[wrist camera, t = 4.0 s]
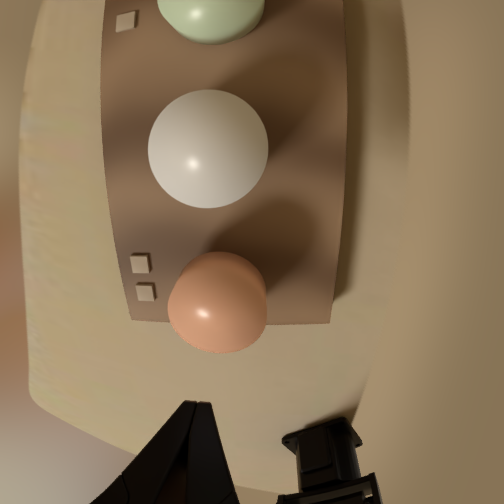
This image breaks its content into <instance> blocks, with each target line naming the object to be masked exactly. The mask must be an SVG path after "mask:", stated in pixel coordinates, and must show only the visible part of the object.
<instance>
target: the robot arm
mask: <svg viewBox="0 0 504 504" xmlns="http://www.w3.org/2000/svg"><path fill="white" fill-rule="evenodd" d="M282 444H283V445H284V446H286V447H287V448H288V449H289V450H290V451H291V452H293V453H294V454H295V455H296V461H297V475H298V489H299V493H294V494H288V495H285V494H283V495H278V500H277V503H276V504H383V502H382V498H381V493H380V489H379V485H378V482H377V479H376V476H375V473H374V472H373V473H370V474H369V475H367V476H364V477H361V473H360V469H359V464H358V459H357V455H356V451H355V448H357V447H360V446H361V445H362V444H363V443H362V440H361V439H360V437H359V436H358V434H357V433H356V432H355V430H354V429H353V427H352V426H351V425H350V423H349V422H348V420H347V419H346V418H344V417H342V418H338V419H336V420H333V421H330V422H328V423H325V424H322V425H320V426H317V427H314V428H311V429H308V430H305V431H302V432H299V433H296V434H293V435H289V436H286V437H283V438H282ZM370 494H372V495H373V496H371V497H368V498H366V497H365V496H366V495H370ZM90 504H240V503H239V500H238V497H237V494H236V492H235V488H234V484H233V481H232V478H231V475H230V471H229V468H228V464H227V461H226V457H225V454H224V450H223V447H222V443H221V439H220V436H219V432H218V428H217V424H216V421H215V417H214V413H213V409H212V405H211V403H210V402H202V401H200V402H197V401H189V400H185V401H184V402H183V403H182V404H181V405H180V406H179V407H178V409H177V410H176V411H175V412H174V413H173V414H172V416H171V417H170V418H169V419H168V420H167V422H166V423H165V424H164V425H163V426H162V427H161V429H160V430H159V431H158V432H157V433H156V434H155V436H154V437H153V438H152V439H151V440H150V441H149V442H148V444H147V445H146V446H145V447H144V448H143V449H142V450H141V452H140V453H139V454H138V455H137V456H136V457H135V459H134V460H133V461H132V462H131V463H130V464H129V465H128V466H127V467H126V469H125V470H124V471H123V472H122V475H119V476H118V477H117V478H116V479H115V481H114V482H113V483H112V484H111V485H110V486H109V487H108V488H107V489H106V490H105V491H104V492H103V493H101V494H100V495H99V496H98V497H97V498H96V499H95V500H93V501H92V502H91V503H90Z"/></svg>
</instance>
